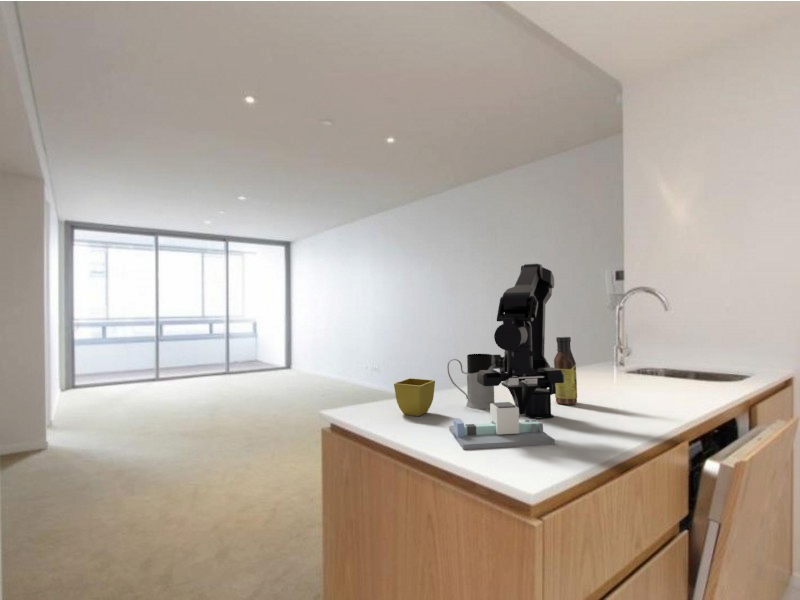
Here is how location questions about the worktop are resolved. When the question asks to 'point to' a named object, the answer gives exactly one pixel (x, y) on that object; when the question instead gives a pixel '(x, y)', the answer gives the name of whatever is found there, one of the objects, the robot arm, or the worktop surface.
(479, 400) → the glass holder
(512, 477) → the worktop surface
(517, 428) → the sleeve
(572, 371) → the sauce bottle
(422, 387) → the flower pot
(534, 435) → the comb board
